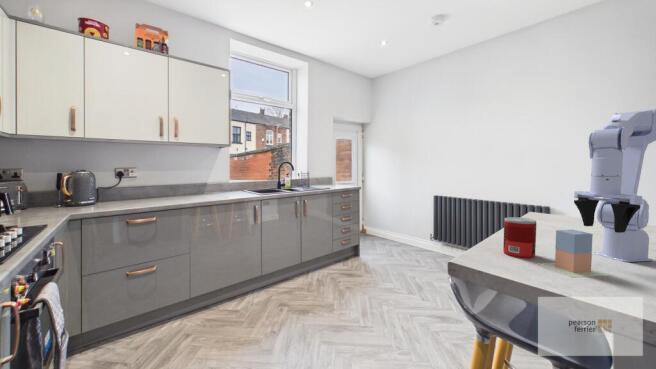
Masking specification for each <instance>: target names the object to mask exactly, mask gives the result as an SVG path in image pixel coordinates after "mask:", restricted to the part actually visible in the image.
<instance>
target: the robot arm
mask: <svg viewBox="0 0 656 369" xmlns="http://www.w3.org/2000/svg"><path fill="white" fill-rule="evenodd" d="M653 142H656V108H654V109H653V108H652V109H644V110H637V111H630V112H628V111H627V112H619V113H617V112H615V113H613V114H612V115H611V117H610V119H609V122H608V123H607V124H606V125H605V126H604V127H603V128H601V129H596V130H594V131H592V132H590V133H589V136H588V148H589V158H590V159H591V169H590V170H591V172H590V187H589V188H590V189H589V191H582V190H581V191H580V190H577V191H575V190H574V193H573V194H574V197H573V198H574V200H573V203H574V205H575V206H576V208H577V209H578V211H579V214H580V216H581V220H582V223H583V226H584V227H593V226H594V223H595V214H596V221H597V222H598V223H599V224H600V225H601V227H603V236H602V238H603V239H602V251H601V252H600V251H598V252H597V251H594V252H593V255H597V256H600V257H604V258H608V259H610V260H615V261H618V262H623V263H632V262H633V263H635V262H651V261H653V259H652V258H649V248H650V247H649V246H650V245H649V244H650V238H649V234H648V233H647V232H646V230H644V229H645V228H647V226H648V224H649V218H650V216H649V215H650V212H649V209H650V205H649V203H648V201H647V200H646V199H644V198H643V195H638V190H639V185H640V180H641V174H642V169H643V164H644V158H645V153H646V151H647V149H648V146H649V144H652V143H653ZM599 202H600V203H599Z"/></svg>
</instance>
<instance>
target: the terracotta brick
mask: <svg viewBox="0 0 656 369" xmlns="http://www.w3.org/2000/svg"><path fill="white" fill-rule="evenodd" d="M592 256H593V252H592V253H580V254H573V253H570V252H566V251H563V250H560V249H556V248H555V256H554V259H555V260H554V263H555V266H556V267H559V268H561V269H564V270H567V271H569V272H572V273H581V272H591V268H592V259H593V257H592Z"/></svg>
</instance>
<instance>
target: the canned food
mask: <svg viewBox="0 0 656 369" xmlns="http://www.w3.org/2000/svg"><path fill="white" fill-rule="evenodd" d="M536 242H537V220H535V219H533V218H527V217H519V216H518V217H516V216H512V217H511V216H509V217H504V220H503V248H502V249H503V250H502V252H503V254H504V255H506V256H508V257H513V258H519V259H534V258H535V256H536V248H537V246H536V244H537V243H536Z"/></svg>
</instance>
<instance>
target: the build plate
mask: <svg viewBox="0 0 656 369" xmlns="http://www.w3.org/2000/svg"><path fill="white" fill-rule="evenodd" d="M536 264H537V265H539V266H541V267H544V268H547V269H549V270H552V271H554V272H557V273H560V274H563V275H565V276H568V277H570V278H586V277H587V278H590V277H605V276H612V274H611V273H607V272H606V271H605V272H604V271H603V270H602V271H601V270H598V269H596V268H593V267H591V272H581V273H572V272H569V271H567V270H564V269H561V268H559V267H556V266H555V262H541V263H540V262H539V263H536Z"/></svg>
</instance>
